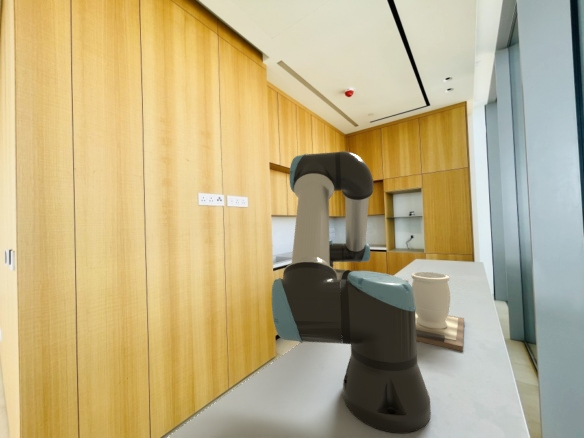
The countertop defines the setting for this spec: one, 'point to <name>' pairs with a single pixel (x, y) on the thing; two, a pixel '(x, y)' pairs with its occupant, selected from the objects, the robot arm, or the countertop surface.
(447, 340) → the clipboard
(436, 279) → the jar
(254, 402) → the countertop surface
